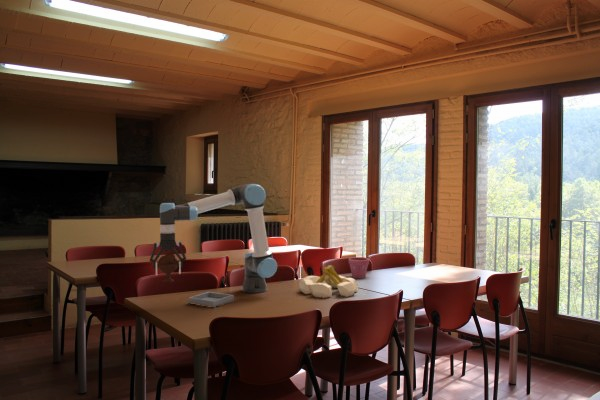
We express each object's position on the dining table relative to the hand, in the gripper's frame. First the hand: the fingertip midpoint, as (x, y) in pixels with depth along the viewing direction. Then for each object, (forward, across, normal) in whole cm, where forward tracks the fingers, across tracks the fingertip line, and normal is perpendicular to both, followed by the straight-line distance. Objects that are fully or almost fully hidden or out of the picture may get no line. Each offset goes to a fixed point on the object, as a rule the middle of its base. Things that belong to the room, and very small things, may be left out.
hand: (168, 274), depth 260 cm
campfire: (+18, +93, +11) cm, 95 cm away
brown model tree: (+4, 0, 0) cm, 4 cm away
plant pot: (+19, +129, +52) cm, 140 cm away
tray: (+17, +22, 0) cm, 28 cm away
